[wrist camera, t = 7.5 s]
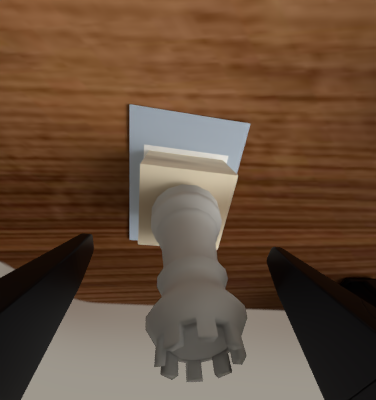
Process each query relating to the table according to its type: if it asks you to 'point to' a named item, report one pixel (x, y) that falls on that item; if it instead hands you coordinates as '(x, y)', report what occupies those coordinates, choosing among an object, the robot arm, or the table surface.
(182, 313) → the rook chess piece
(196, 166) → the beech block
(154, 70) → the table surface
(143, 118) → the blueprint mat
